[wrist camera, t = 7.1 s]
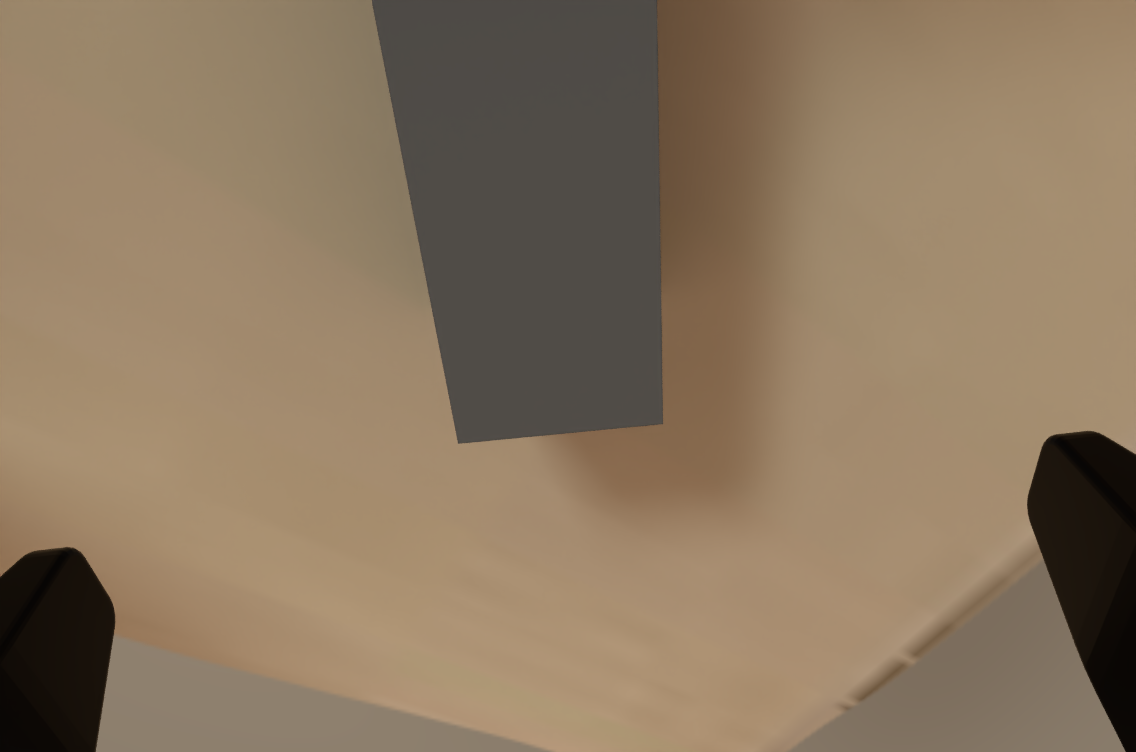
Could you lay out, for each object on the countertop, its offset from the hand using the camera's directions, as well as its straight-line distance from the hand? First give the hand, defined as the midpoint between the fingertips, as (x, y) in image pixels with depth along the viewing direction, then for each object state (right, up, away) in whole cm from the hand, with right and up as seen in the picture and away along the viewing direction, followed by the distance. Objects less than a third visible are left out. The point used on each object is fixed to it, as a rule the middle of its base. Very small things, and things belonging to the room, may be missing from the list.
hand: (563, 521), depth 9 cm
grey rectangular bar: (-1, +8, +10) cm, 12 cm away
